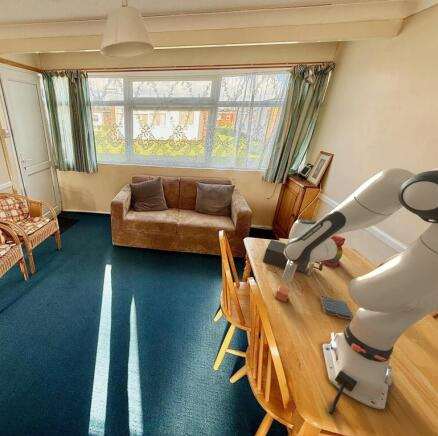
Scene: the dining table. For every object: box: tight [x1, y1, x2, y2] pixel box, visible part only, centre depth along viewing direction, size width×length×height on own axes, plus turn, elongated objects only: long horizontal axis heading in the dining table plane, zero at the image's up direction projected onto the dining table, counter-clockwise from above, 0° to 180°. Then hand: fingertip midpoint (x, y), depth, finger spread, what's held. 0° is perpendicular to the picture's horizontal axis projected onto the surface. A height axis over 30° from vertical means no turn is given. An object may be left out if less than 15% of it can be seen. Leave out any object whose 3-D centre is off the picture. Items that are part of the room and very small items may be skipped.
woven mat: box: [319, 295, 353, 321], centre depth 105 cm, size 10×11×2 cm
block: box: [274, 285, 290, 303], centre depth 111 cm, size 4×4×4 cm
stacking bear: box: [319, 235, 346, 268], centre depth 133 cm, size 11×10×18 cm
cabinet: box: [262, 239, 288, 270], centre depth 136 cm, size 15×13×10 cm
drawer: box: [295, 261, 324, 276], centre depth 130 cm, size 18×11×8 cm, turn 52°
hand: (287, 276), depth 107 cm, fingers open, 8 cm apart
